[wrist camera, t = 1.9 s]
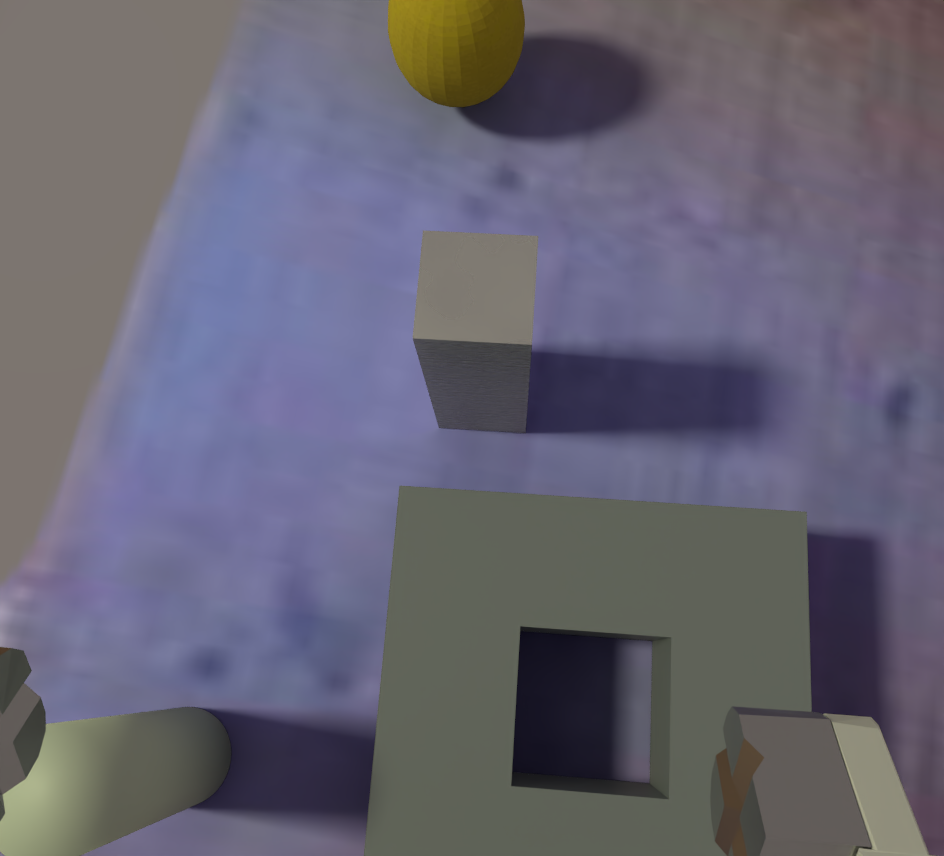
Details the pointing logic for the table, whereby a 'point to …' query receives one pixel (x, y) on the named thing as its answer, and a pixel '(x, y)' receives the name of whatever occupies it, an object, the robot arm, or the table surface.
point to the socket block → (585, 614)
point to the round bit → (113, 779)
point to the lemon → (456, 46)
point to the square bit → (476, 327)
